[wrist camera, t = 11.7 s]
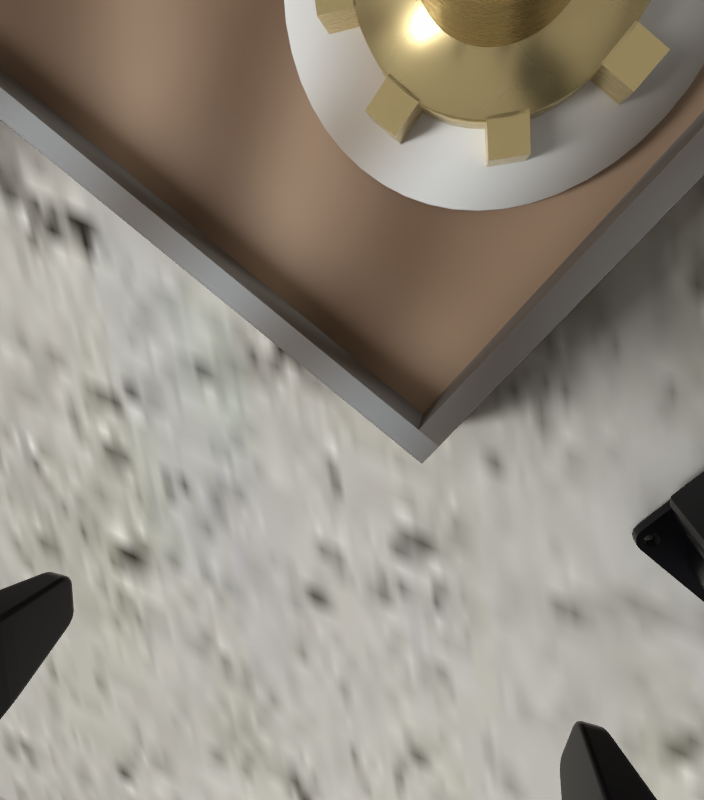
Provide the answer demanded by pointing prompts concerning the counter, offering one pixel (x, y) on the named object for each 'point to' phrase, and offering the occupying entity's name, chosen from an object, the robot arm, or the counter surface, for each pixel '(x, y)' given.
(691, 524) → the robot arm
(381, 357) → the wooden serving tray
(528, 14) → the gear
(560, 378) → the counter surface
